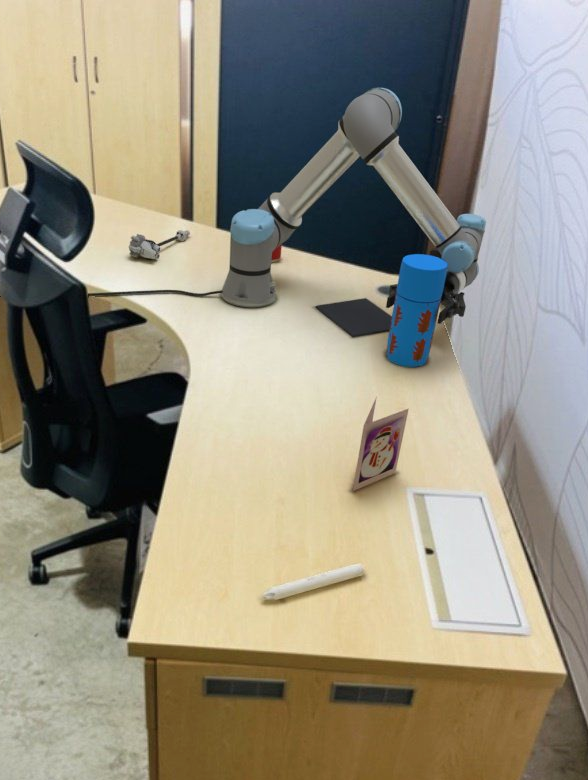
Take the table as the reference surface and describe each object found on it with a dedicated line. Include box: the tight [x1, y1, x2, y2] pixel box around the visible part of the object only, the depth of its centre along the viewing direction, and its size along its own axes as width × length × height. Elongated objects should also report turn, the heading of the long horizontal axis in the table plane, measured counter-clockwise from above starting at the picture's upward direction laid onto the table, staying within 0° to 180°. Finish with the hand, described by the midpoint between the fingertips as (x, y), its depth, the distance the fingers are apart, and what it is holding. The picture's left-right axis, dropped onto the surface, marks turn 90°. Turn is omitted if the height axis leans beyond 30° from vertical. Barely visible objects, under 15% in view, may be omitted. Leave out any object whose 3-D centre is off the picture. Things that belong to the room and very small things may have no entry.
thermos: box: [385, 253, 447, 368], centre depth 185 cm, size 11×11×25 cm
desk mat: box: [315, 297, 392, 338], centre depth 210 cm, size 17×20×1 cm
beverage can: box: [271, 243, 283, 263], centre depth 239 cm, size 6×6×12 cm
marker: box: [262, 562, 365, 601], centre depth 122 cm, size 18×2×2 cm, turn 114°
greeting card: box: [352, 395, 409, 492], centre depth 145 cm, size 11×7×15 cm, turn 126°
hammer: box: [128, 229, 191, 260], centre depth 243 cm, size 10×7×30 cm
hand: (413, 310), depth 183 cm, fingers open, 13 cm apart
